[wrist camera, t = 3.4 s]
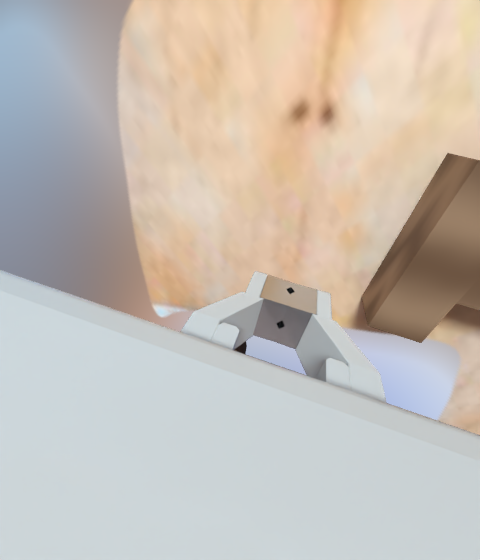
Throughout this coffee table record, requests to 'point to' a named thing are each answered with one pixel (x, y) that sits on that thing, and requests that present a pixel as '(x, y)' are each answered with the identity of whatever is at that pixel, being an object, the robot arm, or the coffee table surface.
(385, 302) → the walnut T block
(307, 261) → the coffee table surface
